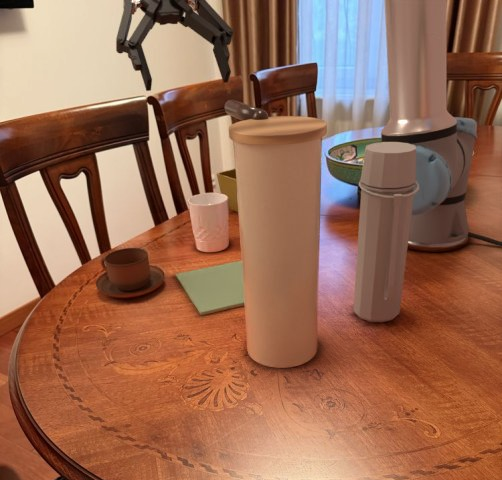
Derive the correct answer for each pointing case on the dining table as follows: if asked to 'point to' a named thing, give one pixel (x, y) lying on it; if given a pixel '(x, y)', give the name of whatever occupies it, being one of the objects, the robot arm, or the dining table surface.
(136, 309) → the dining table surface
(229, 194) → the flower pot
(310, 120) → the lid
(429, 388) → the dining table surface
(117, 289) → the cup and saucer
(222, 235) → the white cup
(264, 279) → the canister
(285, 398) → the dining table surface
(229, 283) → the mat
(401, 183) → the water bottle
